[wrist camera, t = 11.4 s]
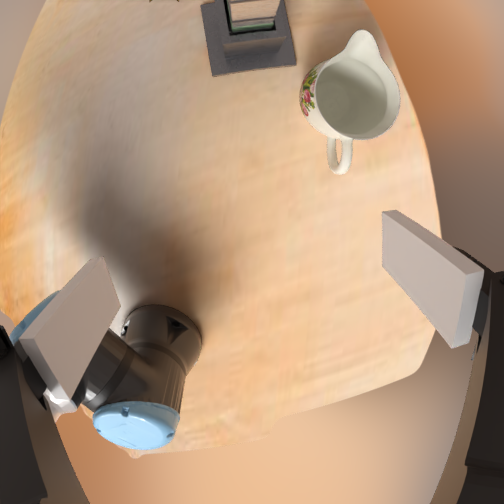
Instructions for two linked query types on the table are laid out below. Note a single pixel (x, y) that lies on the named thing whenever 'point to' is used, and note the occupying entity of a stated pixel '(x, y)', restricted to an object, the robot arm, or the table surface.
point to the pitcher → (350, 97)
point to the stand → (245, 42)
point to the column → (252, 15)
